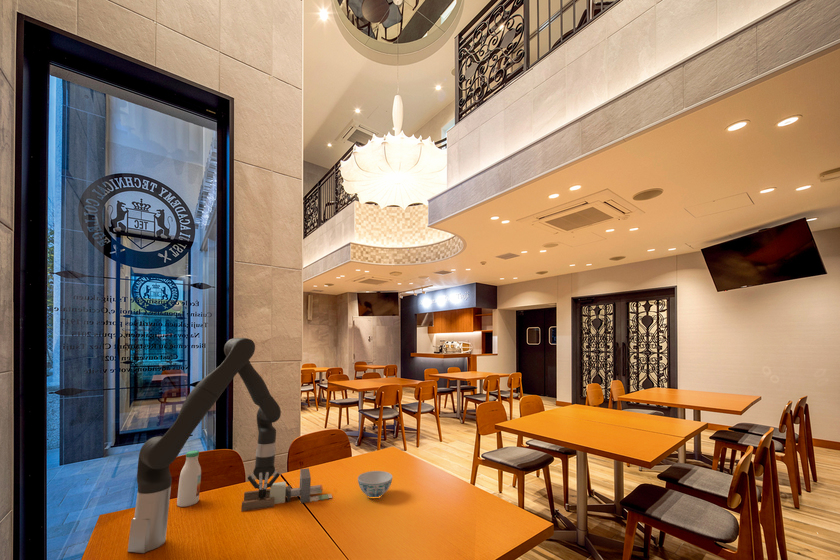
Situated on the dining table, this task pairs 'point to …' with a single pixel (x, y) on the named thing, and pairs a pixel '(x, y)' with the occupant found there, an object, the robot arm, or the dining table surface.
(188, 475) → the milk bottle
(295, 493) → the plunger
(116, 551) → the dining table surface
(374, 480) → the chinaware
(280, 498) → the block
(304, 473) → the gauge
